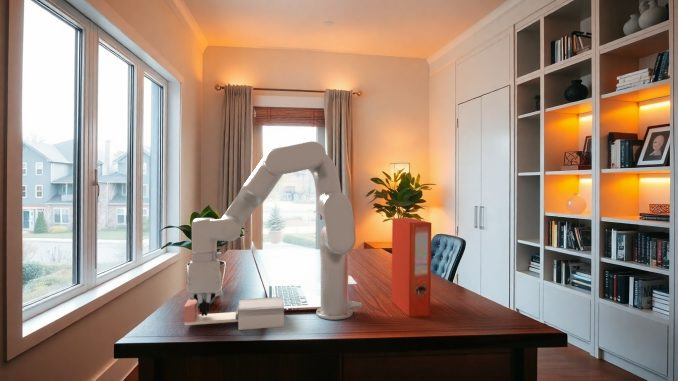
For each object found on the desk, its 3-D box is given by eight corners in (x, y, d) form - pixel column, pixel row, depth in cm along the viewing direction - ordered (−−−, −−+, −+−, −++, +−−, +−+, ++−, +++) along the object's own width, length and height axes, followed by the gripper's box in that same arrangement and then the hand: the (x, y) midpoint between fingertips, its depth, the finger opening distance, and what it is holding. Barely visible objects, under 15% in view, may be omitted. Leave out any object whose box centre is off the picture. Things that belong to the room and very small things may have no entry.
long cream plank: (269, 312, 133) (269, 294, 133) (270, 319, 126) (270, 301, 126) (188, 317, 128) (188, 299, 127) (184, 325, 121) (184, 306, 121)
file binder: (411, 300, 152) (411, 217, 151) (431, 315, 135) (431, 222, 134) (391, 302, 150) (391, 218, 149) (408, 317, 133) (409, 222, 133)
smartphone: (341, 284, 176) (335, 276, 190) (341, 286, 176) (335, 277, 190) (357, 283, 177) (350, 275, 192) (357, 285, 177) (350, 277, 192)
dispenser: (281, 314, 137) (281, 296, 136) (284, 326, 125) (283, 307, 125) (236, 317, 133) (236, 299, 133) (235, 330, 122) (235, 310, 122)
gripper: (229, 253, 130) (229, 309, 131) (181, 255, 127) (181, 312, 127) (228, 258, 123) (228, 316, 123) (177, 260, 120) (177, 320, 120)
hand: (204, 314), depth 125 cm, fingers closed
